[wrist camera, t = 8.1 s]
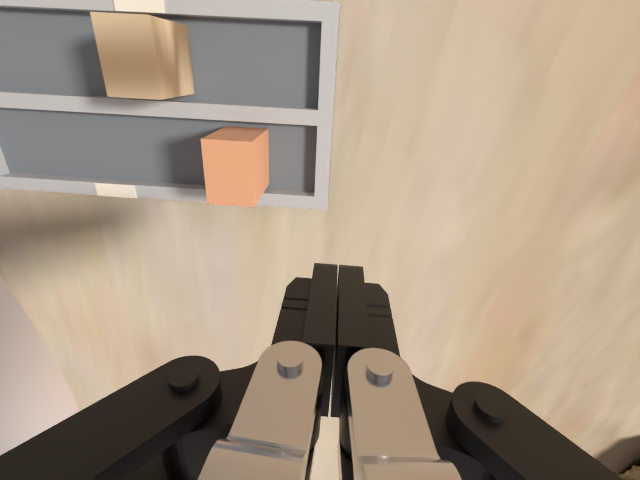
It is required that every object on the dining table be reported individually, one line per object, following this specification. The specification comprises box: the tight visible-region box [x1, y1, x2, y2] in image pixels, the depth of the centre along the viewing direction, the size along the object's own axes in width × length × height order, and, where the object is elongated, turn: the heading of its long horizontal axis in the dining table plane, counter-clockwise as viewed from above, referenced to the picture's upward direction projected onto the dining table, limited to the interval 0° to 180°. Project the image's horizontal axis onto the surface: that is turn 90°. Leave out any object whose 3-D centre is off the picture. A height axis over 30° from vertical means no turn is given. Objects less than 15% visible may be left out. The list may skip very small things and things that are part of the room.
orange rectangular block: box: [201, 126, 269, 207], centre depth 23 cm, size 4×3×5 cm
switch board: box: [0, 0, 340, 210], centre depth 24 cm, size 13×26×2 cm, turn 87°
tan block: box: [90, 12, 195, 100], centre depth 21 cm, size 4×3×5 cm
